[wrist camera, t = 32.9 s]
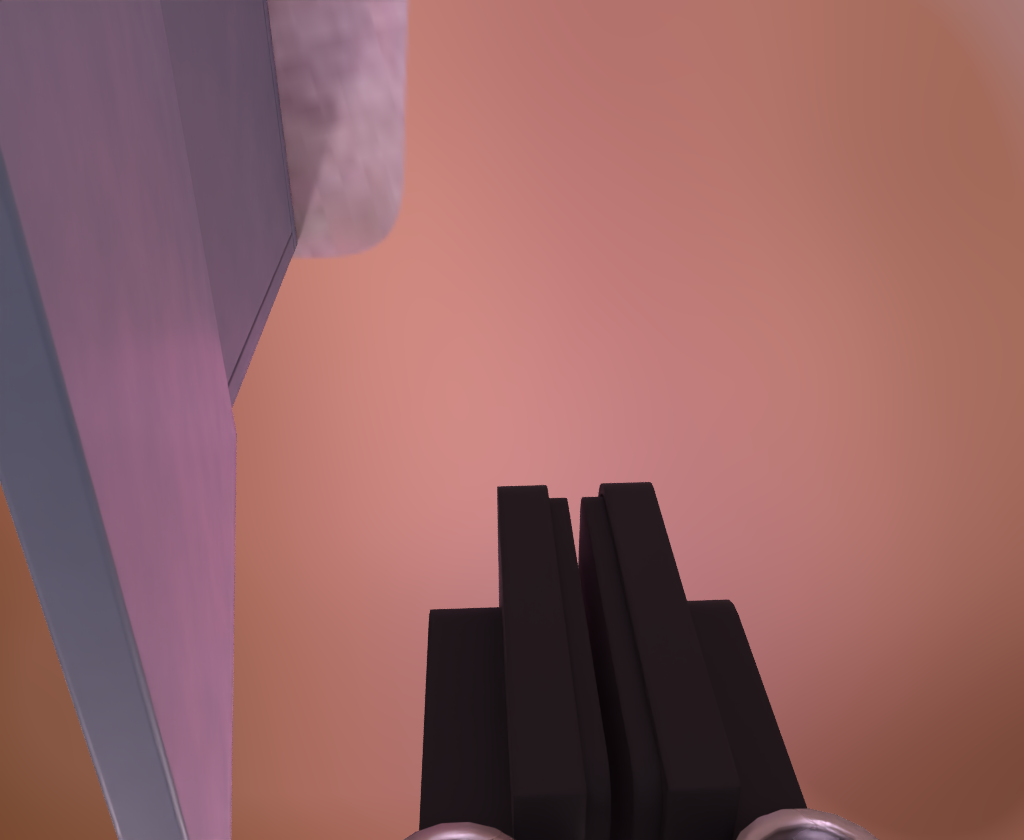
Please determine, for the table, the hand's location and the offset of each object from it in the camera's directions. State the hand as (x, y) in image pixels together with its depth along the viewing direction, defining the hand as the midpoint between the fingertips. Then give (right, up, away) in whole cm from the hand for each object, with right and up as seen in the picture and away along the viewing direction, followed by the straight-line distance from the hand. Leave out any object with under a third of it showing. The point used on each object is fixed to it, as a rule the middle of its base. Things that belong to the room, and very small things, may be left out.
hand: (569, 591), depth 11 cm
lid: (-7, +3, +6) cm, 10 cm away
